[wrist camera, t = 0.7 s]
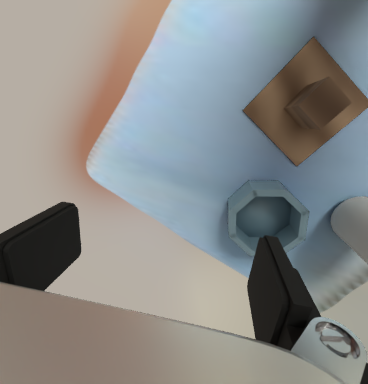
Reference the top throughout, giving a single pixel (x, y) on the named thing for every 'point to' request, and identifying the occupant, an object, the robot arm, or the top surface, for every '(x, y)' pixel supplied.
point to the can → (353, 224)
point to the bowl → (265, 215)
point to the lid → (306, 103)
